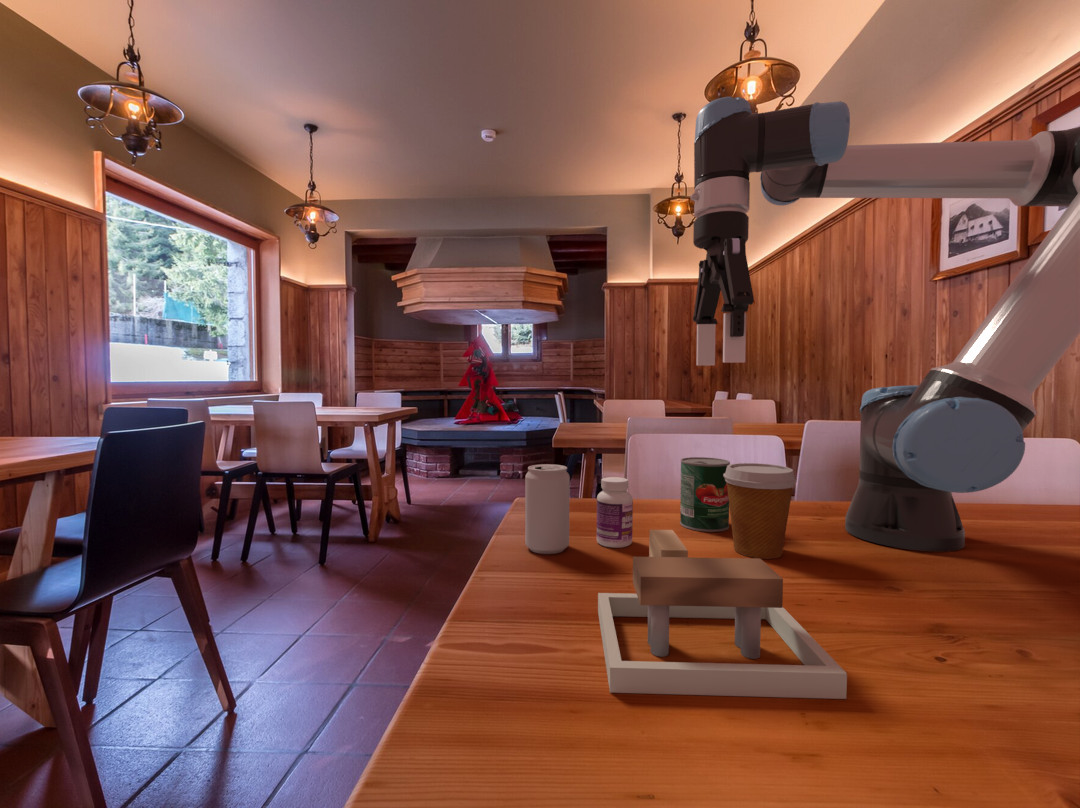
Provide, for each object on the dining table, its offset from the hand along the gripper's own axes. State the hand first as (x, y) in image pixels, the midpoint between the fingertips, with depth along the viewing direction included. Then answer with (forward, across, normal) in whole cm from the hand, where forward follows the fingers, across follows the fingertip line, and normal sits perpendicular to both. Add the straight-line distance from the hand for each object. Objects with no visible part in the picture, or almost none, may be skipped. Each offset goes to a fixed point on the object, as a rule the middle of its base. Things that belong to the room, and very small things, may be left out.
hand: (718, 364), depth 75 cm
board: (+22, +30, -10) cm, 38 cm away
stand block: (+27, +14, -10) cm, 32 cm away
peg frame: (+27, +30, -10) cm, 41 cm away
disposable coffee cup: (+27, +3, +5) cm, 28 cm away
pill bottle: (+27, 0, -15) cm, 31 cm away
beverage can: (+27, +3, -25) cm, 37 cm away
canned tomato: (+27, -10, +1) cm, 29 cm away
